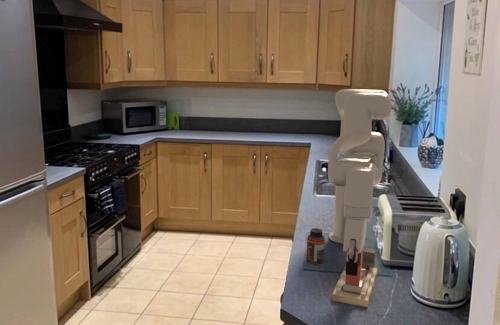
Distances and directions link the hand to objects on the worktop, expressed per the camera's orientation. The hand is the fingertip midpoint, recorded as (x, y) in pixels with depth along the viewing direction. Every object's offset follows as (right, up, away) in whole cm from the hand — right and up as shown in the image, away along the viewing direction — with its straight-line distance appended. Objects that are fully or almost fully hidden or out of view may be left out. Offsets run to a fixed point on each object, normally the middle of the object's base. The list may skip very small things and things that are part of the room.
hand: (353, 268), depth 140 cm
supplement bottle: (-8, -4, +27) cm, 29 cm away
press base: (+3, -7, +9) cm, 12 cm away
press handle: (+1, -6, +4) cm, 7 cm away
